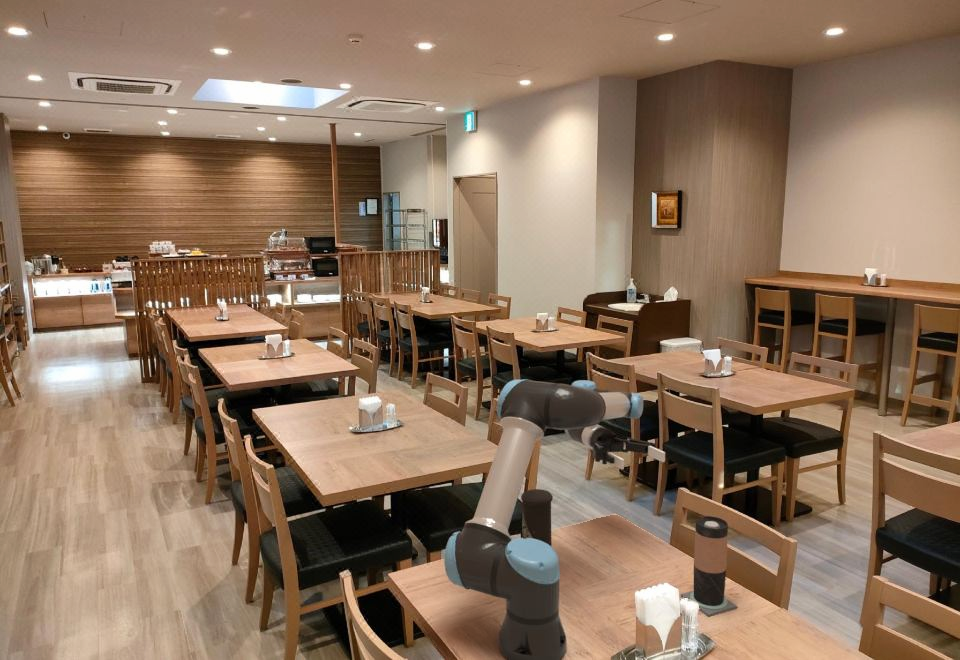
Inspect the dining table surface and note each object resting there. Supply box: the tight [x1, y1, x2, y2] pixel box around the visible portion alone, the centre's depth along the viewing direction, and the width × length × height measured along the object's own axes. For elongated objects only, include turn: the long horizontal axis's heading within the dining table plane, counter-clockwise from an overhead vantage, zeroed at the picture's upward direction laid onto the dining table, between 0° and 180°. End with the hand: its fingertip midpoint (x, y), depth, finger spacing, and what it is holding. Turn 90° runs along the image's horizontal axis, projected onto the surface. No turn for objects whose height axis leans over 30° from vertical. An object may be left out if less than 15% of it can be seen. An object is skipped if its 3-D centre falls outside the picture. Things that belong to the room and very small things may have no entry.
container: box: [520, 488, 553, 548], centre depth 190 cm, size 9×9×20 cm
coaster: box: [680, 590, 738, 618], centre depth 169 cm, size 9×10×1 cm
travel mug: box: [693, 515, 729, 606], centre depth 168 cm, size 8×8×20 cm
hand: (643, 460), depth 184 cm, fingers open, 13 cm apart
